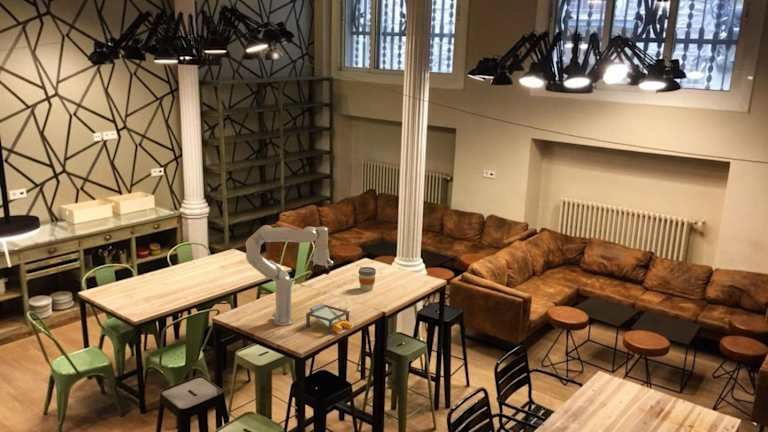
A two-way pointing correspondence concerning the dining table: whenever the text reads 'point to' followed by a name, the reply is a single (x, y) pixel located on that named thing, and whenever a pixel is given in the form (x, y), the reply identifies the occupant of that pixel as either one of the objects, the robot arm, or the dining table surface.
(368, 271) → the reusable coffee cup
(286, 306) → the robot arm
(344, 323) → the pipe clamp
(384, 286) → the dining table surface
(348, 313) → the frame
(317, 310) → the trapdoor
